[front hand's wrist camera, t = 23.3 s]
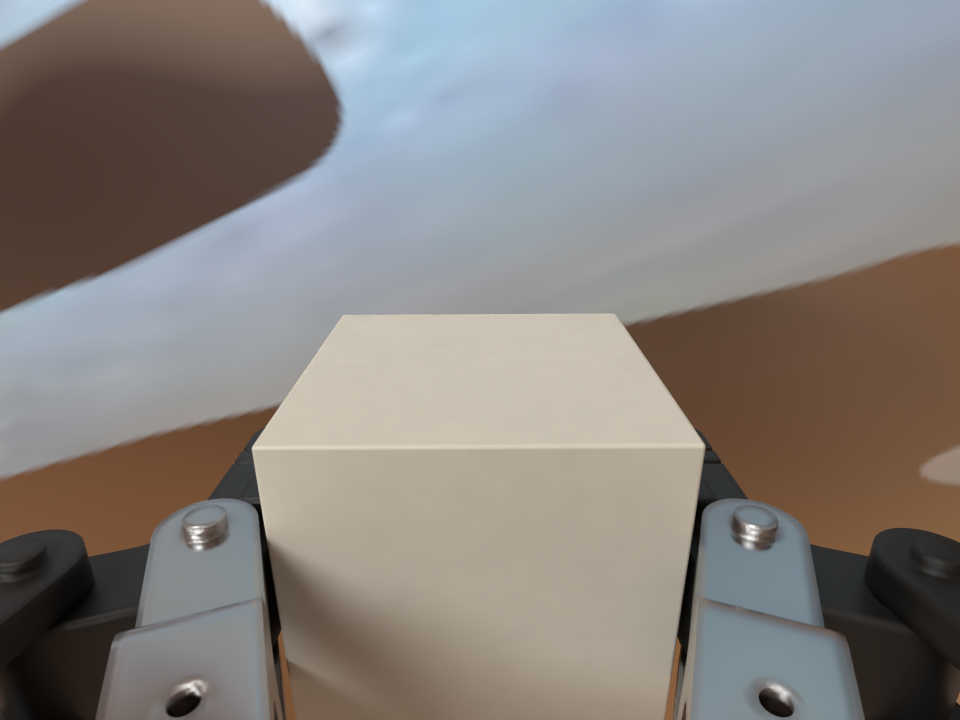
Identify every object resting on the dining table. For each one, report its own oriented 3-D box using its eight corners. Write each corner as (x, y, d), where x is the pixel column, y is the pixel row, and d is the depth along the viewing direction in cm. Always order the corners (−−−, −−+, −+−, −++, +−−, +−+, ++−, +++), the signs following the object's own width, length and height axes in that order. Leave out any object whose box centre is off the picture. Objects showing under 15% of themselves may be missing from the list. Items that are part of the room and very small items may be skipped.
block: (342, 314, 12) (249, 447, 7) (615, 312, 12) (708, 445, 7) (363, 538, 13) (301, 761, 9) (597, 537, 13) (660, 758, 9)
